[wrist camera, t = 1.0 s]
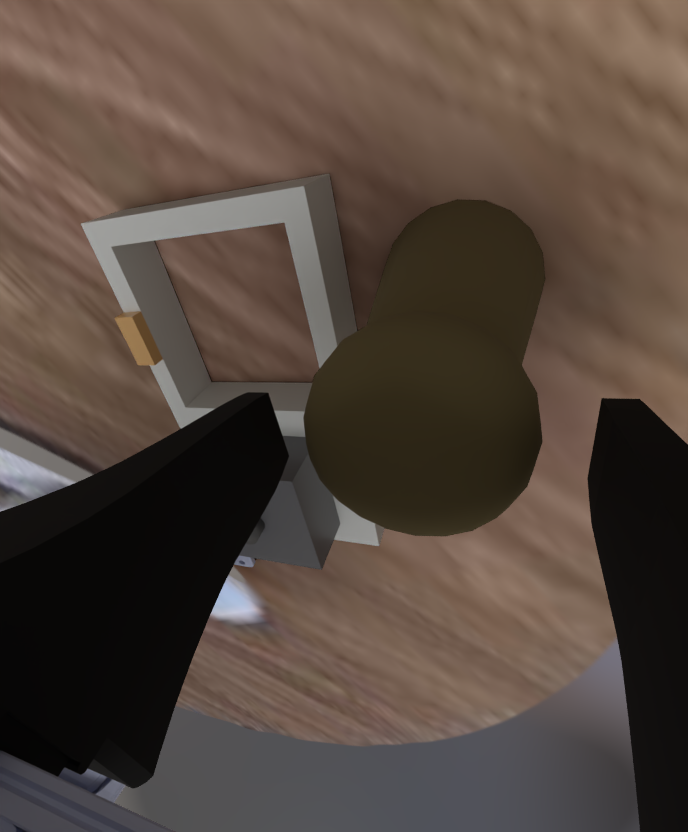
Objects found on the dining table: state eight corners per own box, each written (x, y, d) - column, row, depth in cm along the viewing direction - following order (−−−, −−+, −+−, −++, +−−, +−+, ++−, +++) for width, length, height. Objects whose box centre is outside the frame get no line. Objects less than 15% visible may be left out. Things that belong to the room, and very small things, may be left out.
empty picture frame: (245, 495, 30) (192, 575, 25) (123, 209, 20) (-5, 251, 15) (389, 512, 26) (360, 608, 21) (329, 173, 16) (248, 212, 11)
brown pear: (358, 242, 17) (208, 395, 9) (517, 165, 14) (513, 287, 6) (418, 369, 20) (343, 580, 11) (563, 327, 17) (606, 571, 8)
